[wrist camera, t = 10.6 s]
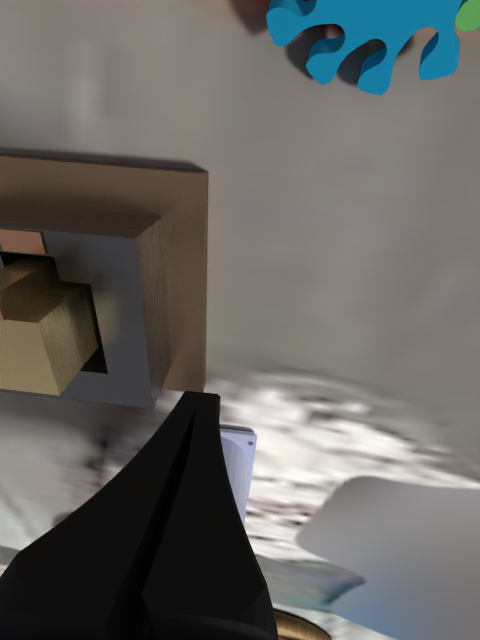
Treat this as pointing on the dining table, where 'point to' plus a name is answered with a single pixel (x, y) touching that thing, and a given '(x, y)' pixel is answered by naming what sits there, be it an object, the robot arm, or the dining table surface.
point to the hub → (119, 266)
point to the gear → (375, 34)
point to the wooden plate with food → (297, 629)
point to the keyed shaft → (43, 326)
